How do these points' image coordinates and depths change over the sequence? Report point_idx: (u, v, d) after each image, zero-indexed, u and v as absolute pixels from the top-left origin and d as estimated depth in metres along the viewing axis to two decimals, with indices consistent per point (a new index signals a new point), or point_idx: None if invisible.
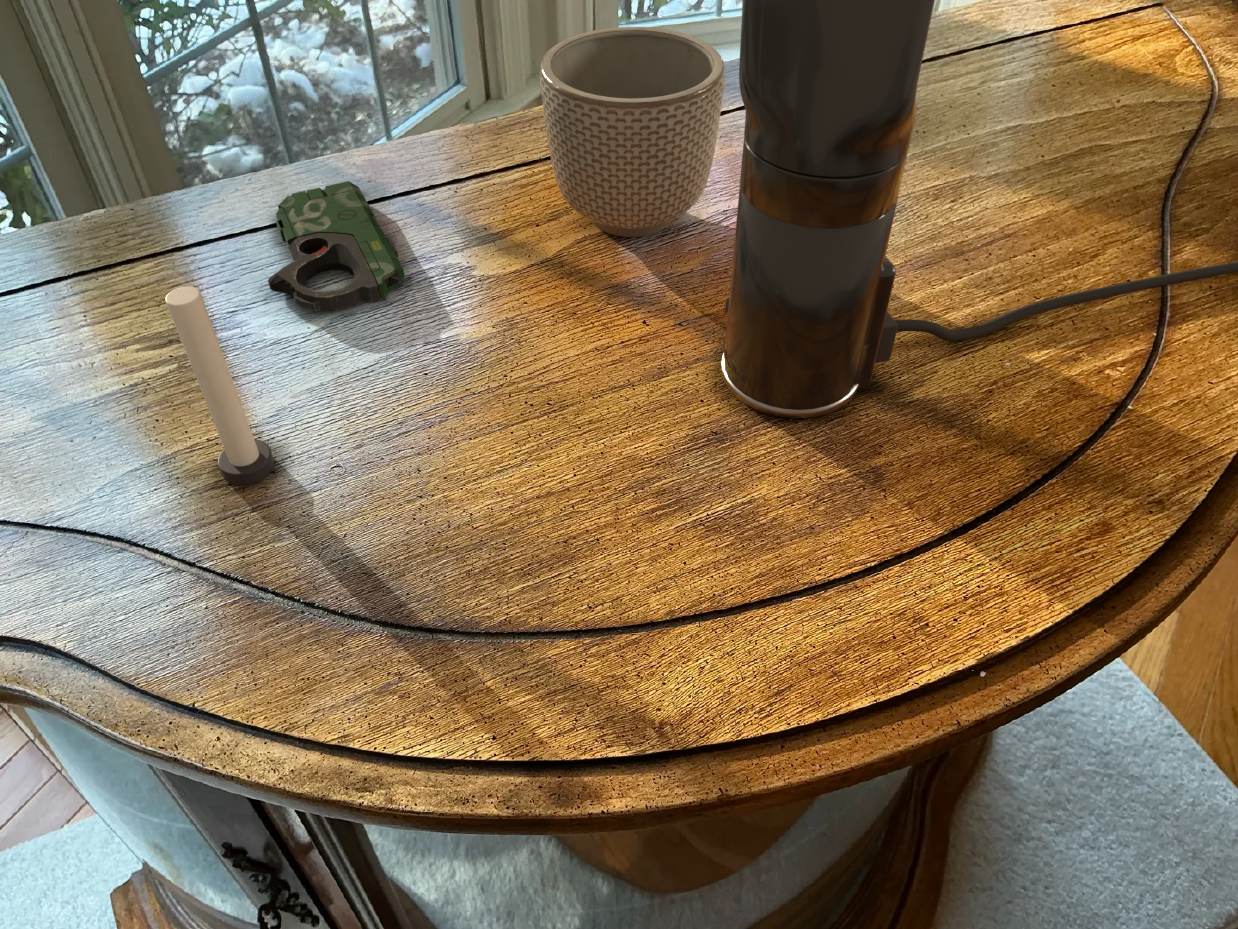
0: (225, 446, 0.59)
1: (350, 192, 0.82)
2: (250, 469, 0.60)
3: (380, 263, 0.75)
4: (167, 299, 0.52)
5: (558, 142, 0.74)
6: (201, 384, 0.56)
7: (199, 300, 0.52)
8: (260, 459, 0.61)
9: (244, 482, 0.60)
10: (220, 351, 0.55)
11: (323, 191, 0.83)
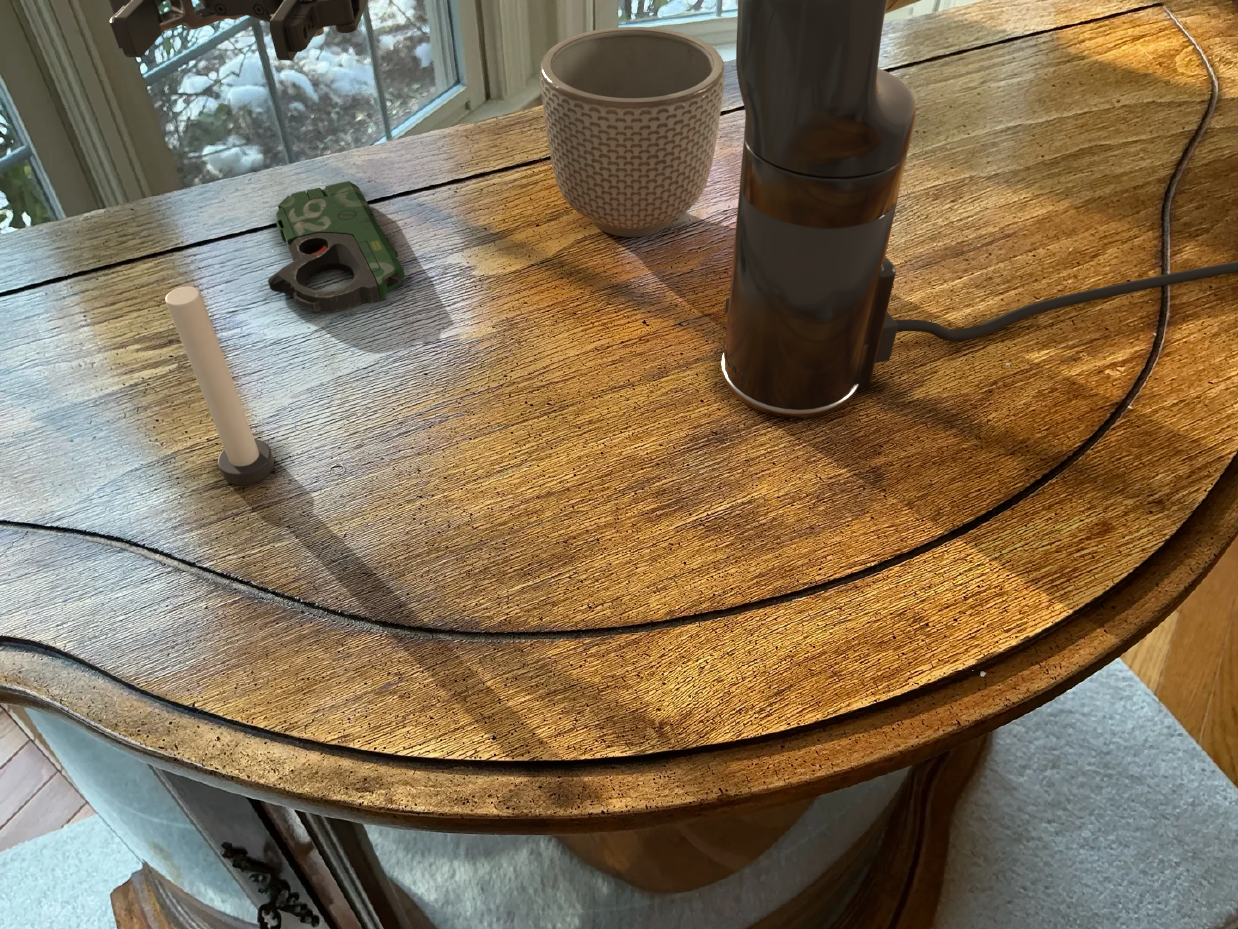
0: (225, 446, 0.59)
1: (350, 192, 0.82)
2: (250, 469, 0.60)
3: (380, 263, 0.75)
4: (167, 299, 0.52)
5: (558, 142, 0.74)
6: (201, 384, 0.56)
7: (199, 300, 0.52)
8: (260, 459, 0.61)
9: (244, 482, 0.60)
10: (220, 351, 0.55)
11: (323, 191, 0.83)
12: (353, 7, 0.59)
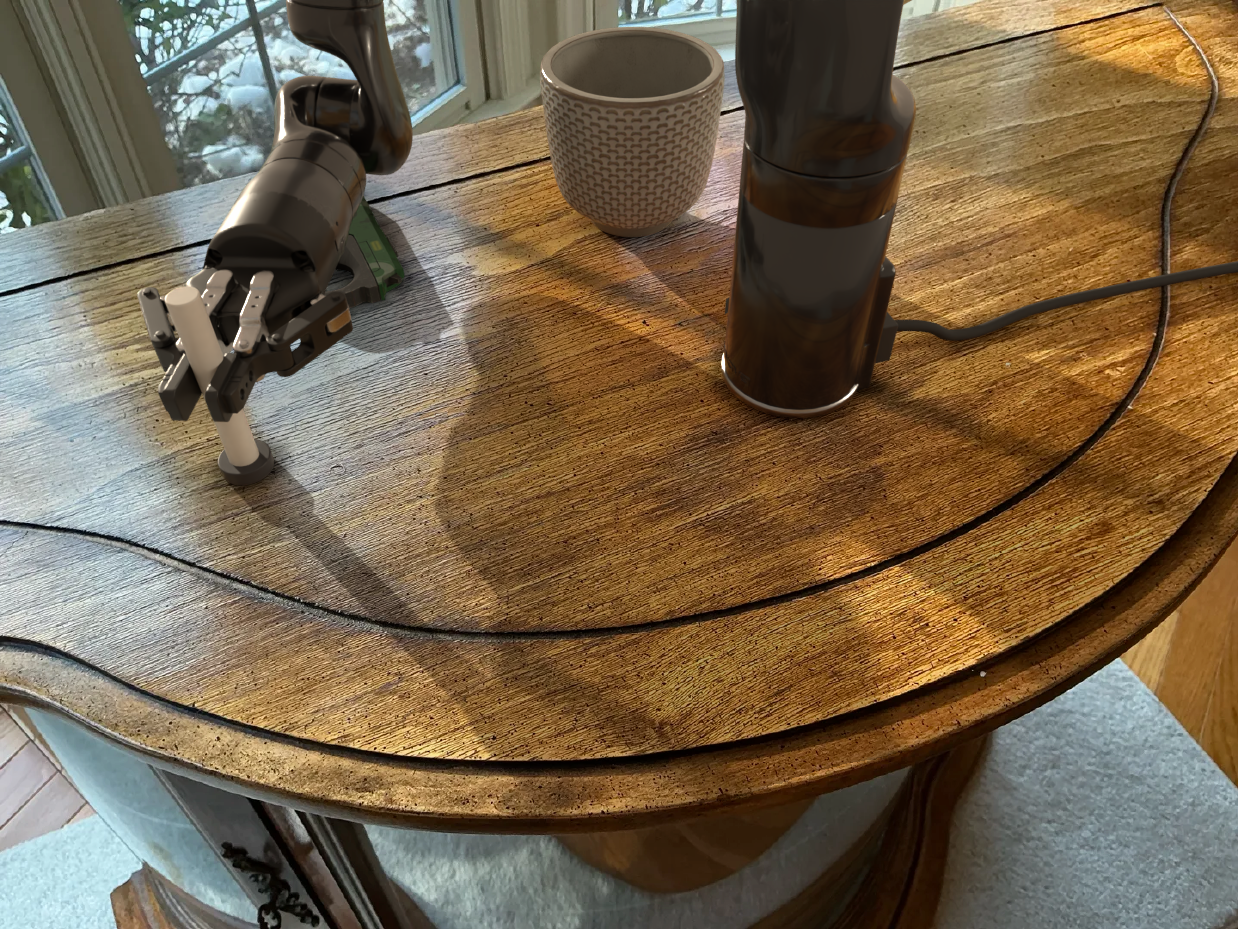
0: (225, 446, 0.59)
1: None
2: (250, 469, 0.60)
3: (380, 263, 0.75)
4: (166, 299, 0.52)
5: (558, 142, 0.74)
6: (201, 384, 0.56)
7: (198, 300, 0.52)
8: (260, 459, 0.61)
9: (244, 482, 0.60)
10: (220, 351, 0.55)
11: None
12: (309, 348, 0.59)
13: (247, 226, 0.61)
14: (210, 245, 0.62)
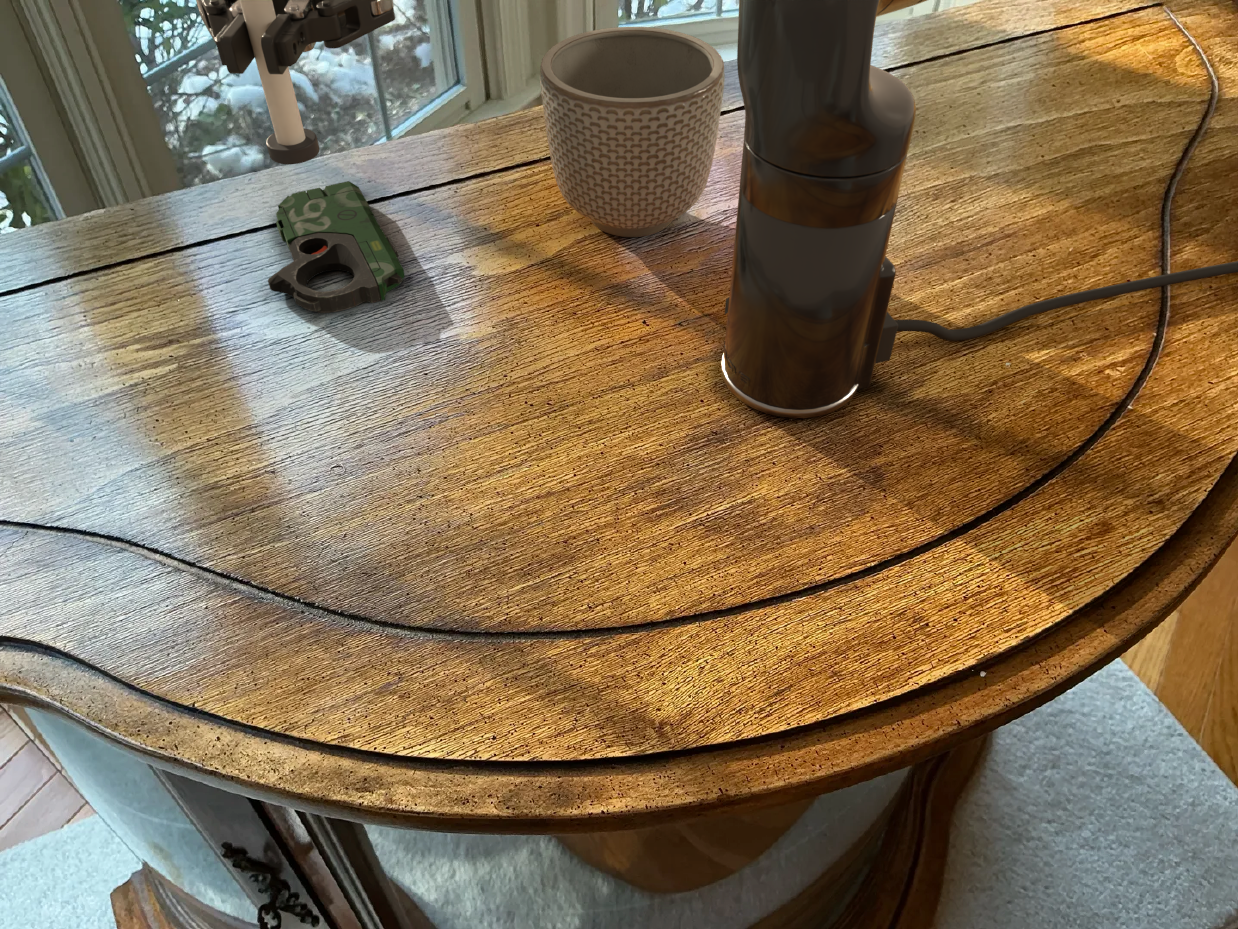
0: (274, 121, 0.62)
1: (350, 192, 0.82)
2: (297, 147, 0.63)
3: (380, 263, 0.75)
4: None
5: (558, 142, 0.74)
6: (254, 43, 0.59)
7: None
8: (307, 140, 0.64)
9: (292, 160, 0.63)
10: (273, 8, 0.58)
11: (323, 191, 0.83)
12: (355, 26, 0.62)
13: None
14: None
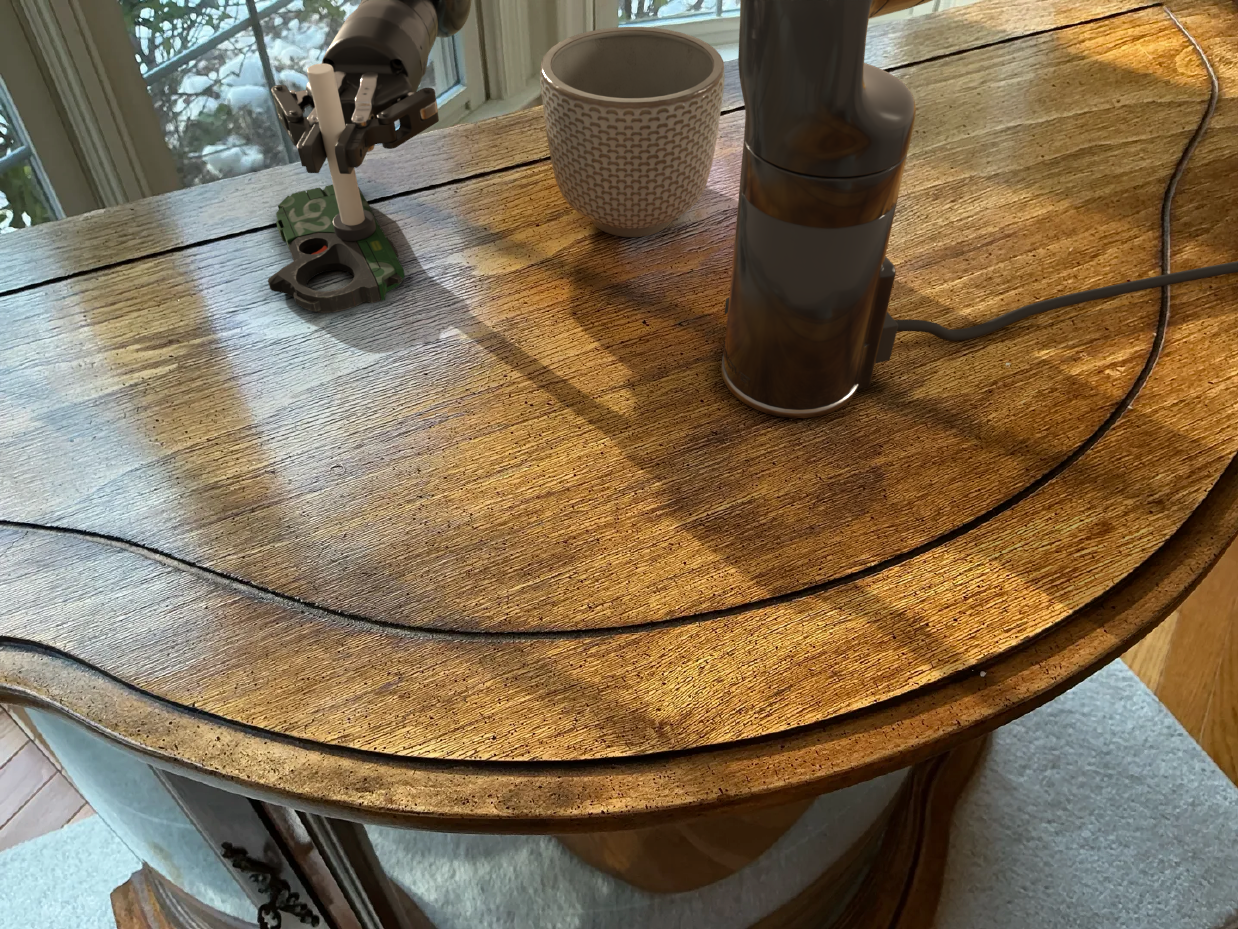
0: (340, 206, 0.76)
1: None
2: (359, 227, 0.77)
3: (380, 263, 0.75)
4: (308, 70, 0.69)
5: (558, 142, 0.74)
6: (328, 147, 0.72)
7: (332, 72, 0.69)
8: (366, 221, 0.77)
9: (354, 238, 0.77)
10: (343, 120, 0.72)
11: (323, 191, 0.83)
12: (407, 129, 0.76)
13: (356, 38, 0.77)
14: (325, 55, 0.78)
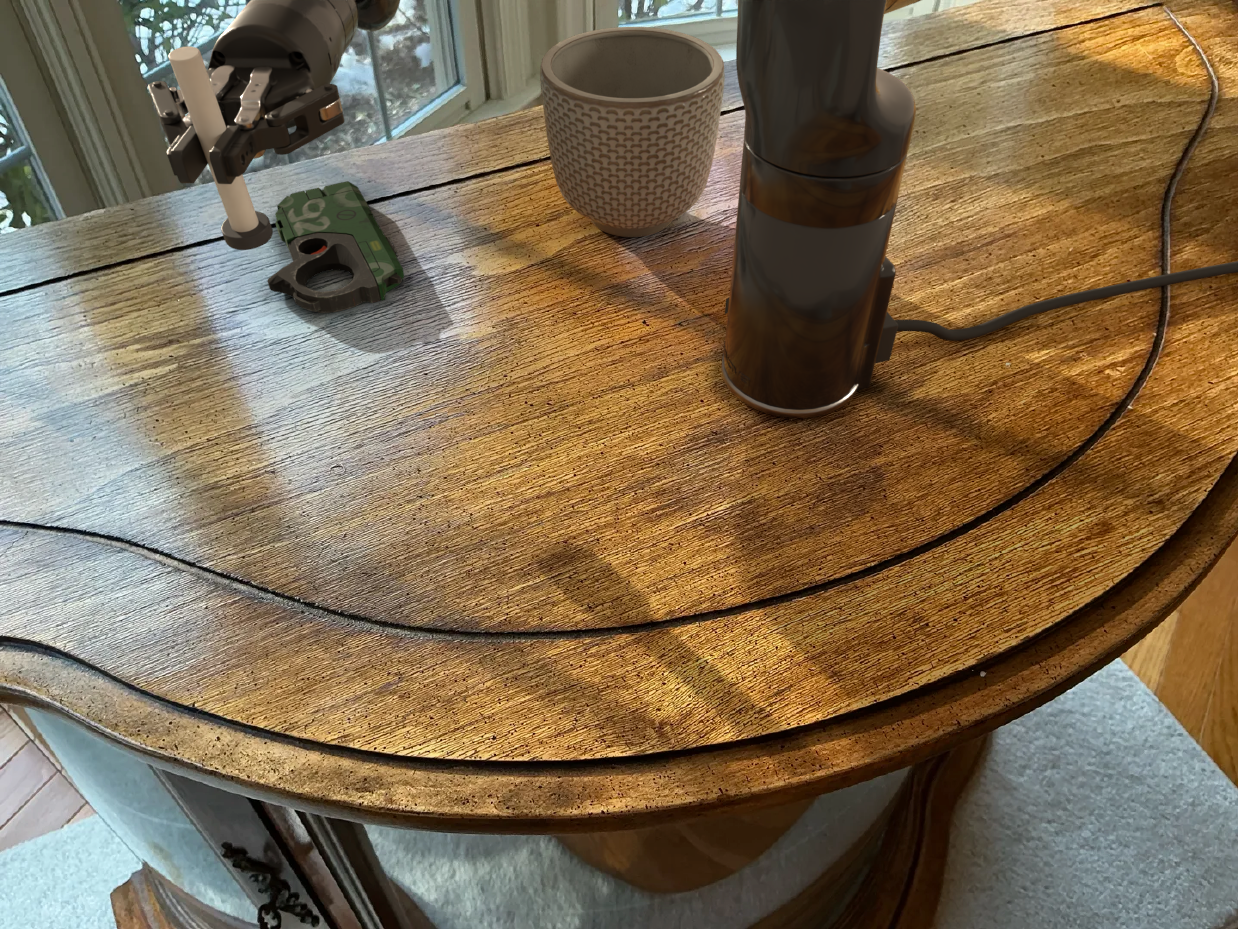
0: (228, 211, 0.65)
1: (349, 192, 0.82)
2: (252, 233, 0.66)
3: (380, 263, 0.75)
4: (170, 56, 0.58)
5: (558, 142, 0.74)
6: (205, 145, 0.61)
7: (200, 57, 0.58)
8: (260, 225, 0.67)
9: (248, 246, 0.66)
10: (220, 112, 0.61)
11: (322, 191, 0.83)
12: (304, 132, 0.65)
13: (247, 27, 0.67)
14: (214, 47, 0.68)
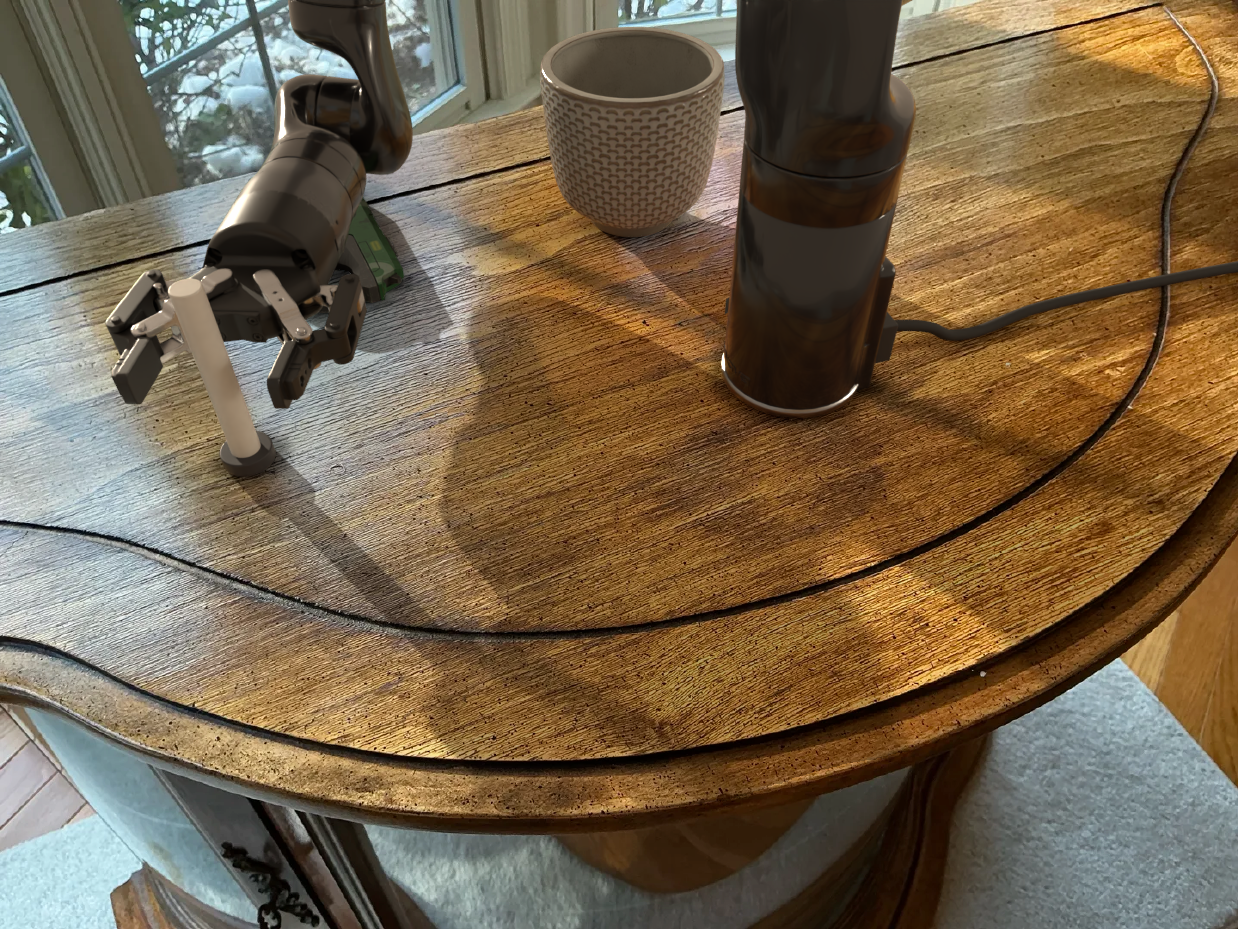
0: (228, 438, 0.60)
1: None
2: (253, 460, 0.61)
3: (380, 263, 0.75)
4: (170, 291, 0.53)
5: (558, 142, 0.74)
6: (204, 376, 0.56)
7: (202, 291, 0.53)
8: (262, 450, 0.61)
9: (248, 473, 0.61)
10: (222, 342, 0.56)
11: None
12: (350, 332, 0.60)
13: (246, 225, 0.61)
14: (210, 244, 0.62)
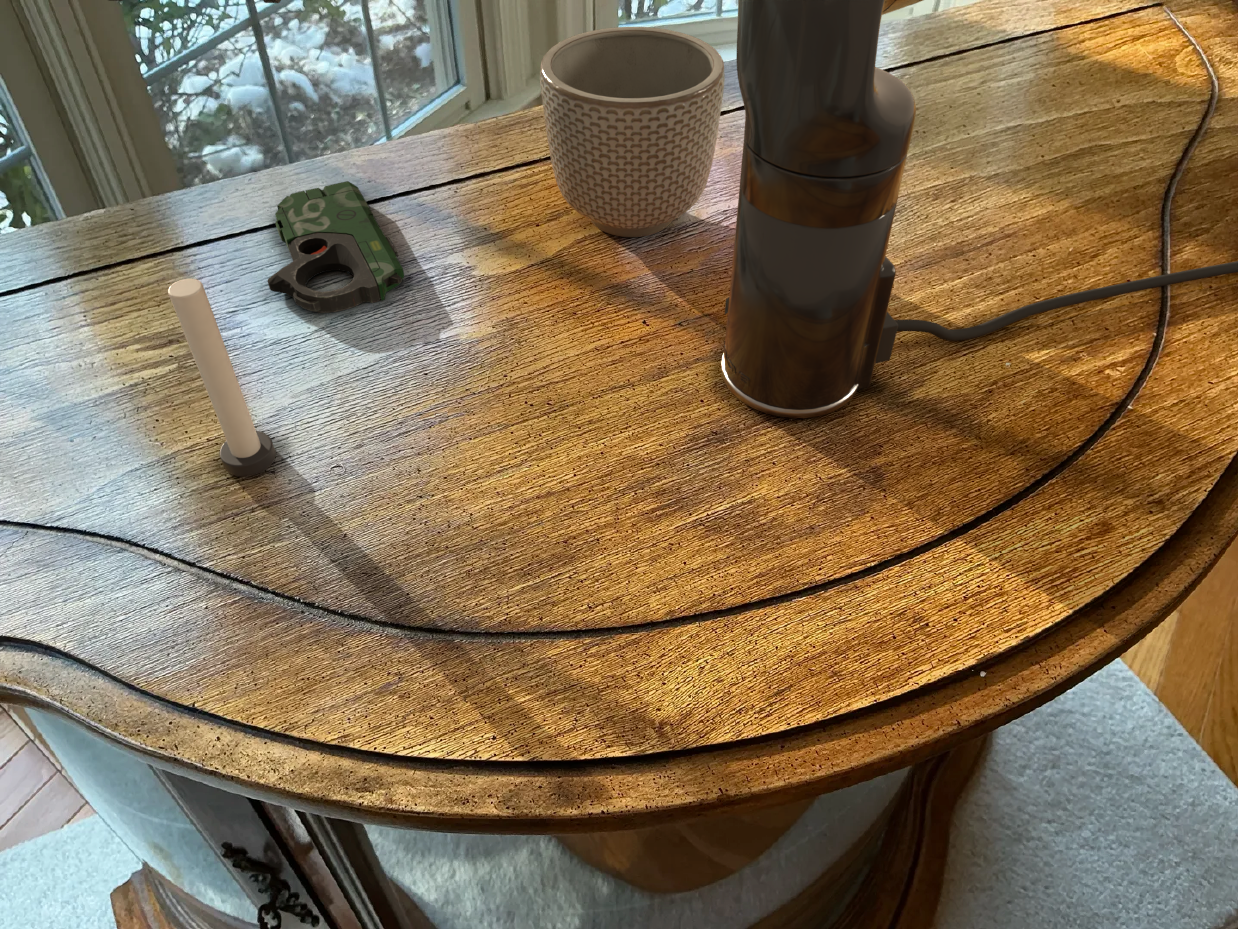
0: (228, 438, 0.60)
1: (349, 192, 0.82)
2: (253, 460, 0.61)
3: (380, 263, 0.75)
4: (170, 291, 0.53)
5: (558, 142, 0.74)
6: (204, 376, 0.56)
7: (202, 291, 0.53)
8: (262, 450, 0.61)
9: (248, 473, 0.61)
10: (222, 342, 0.56)
11: (322, 191, 0.83)
12: None
13: None
14: None
